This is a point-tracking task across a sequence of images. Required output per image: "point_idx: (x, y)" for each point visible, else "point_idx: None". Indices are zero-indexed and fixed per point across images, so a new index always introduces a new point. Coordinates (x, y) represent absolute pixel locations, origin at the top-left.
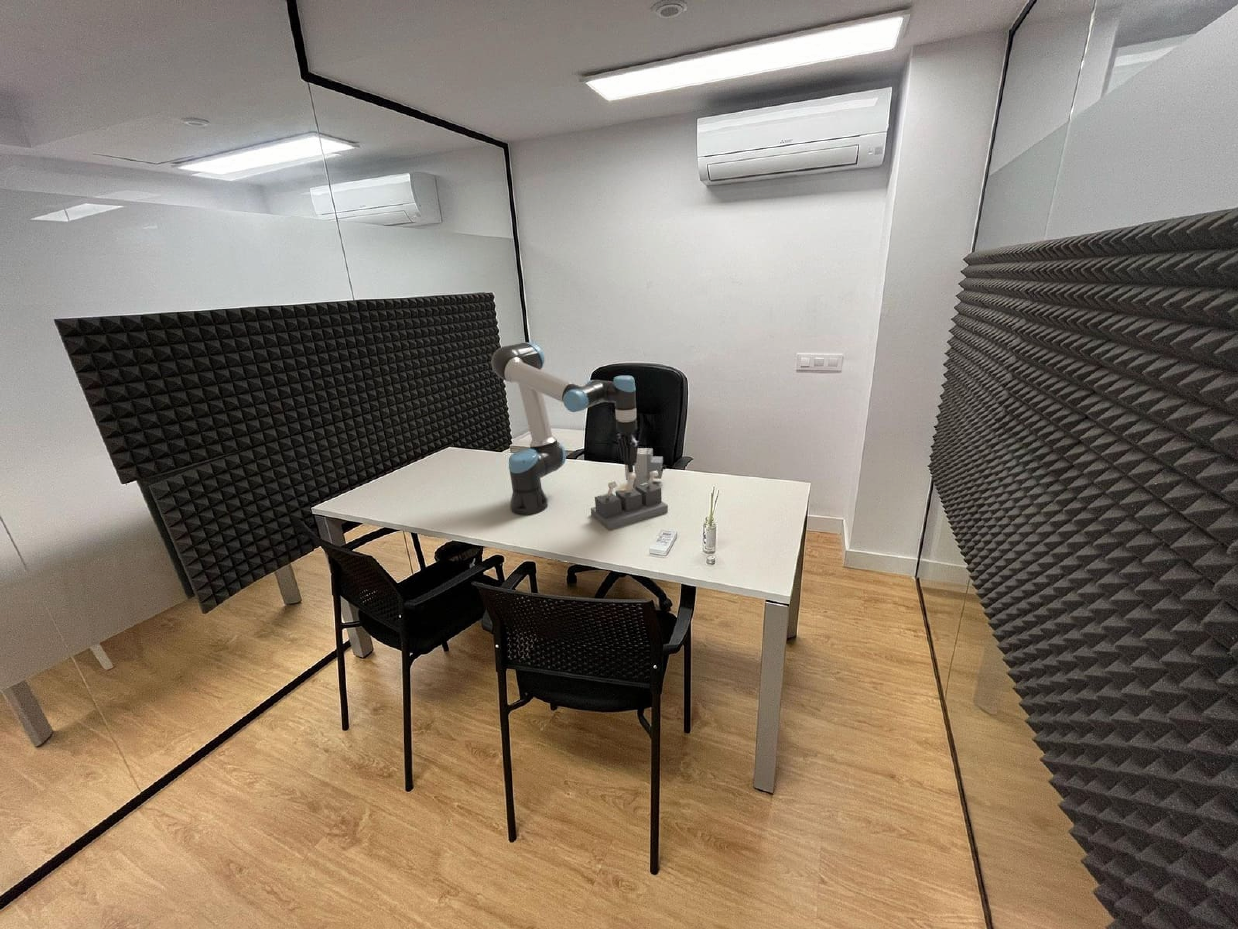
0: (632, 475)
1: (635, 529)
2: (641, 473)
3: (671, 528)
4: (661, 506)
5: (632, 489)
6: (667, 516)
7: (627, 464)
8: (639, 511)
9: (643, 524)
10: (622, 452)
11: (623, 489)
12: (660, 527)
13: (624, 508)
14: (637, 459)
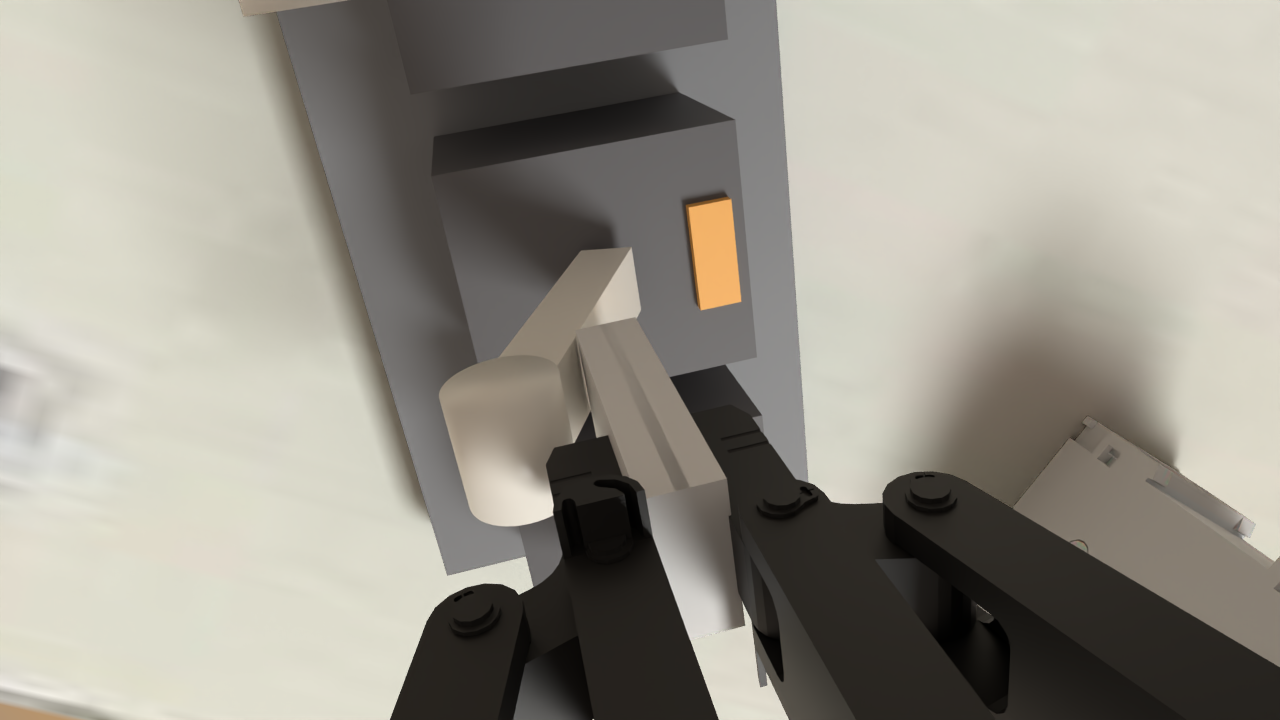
0: (469, 460)
1: (172, 133)
2: (1120, 553)
3: (97, 468)
4: (440, 518)
5: (677, 352)
6: (362, 505)
7: (560, 526)
8: (410, 286)
9: (267, 252)
10: (1035, 647)
11: (717, 241)
12: (148, 384)
13: (477, 135)
14: (1278, 631)
